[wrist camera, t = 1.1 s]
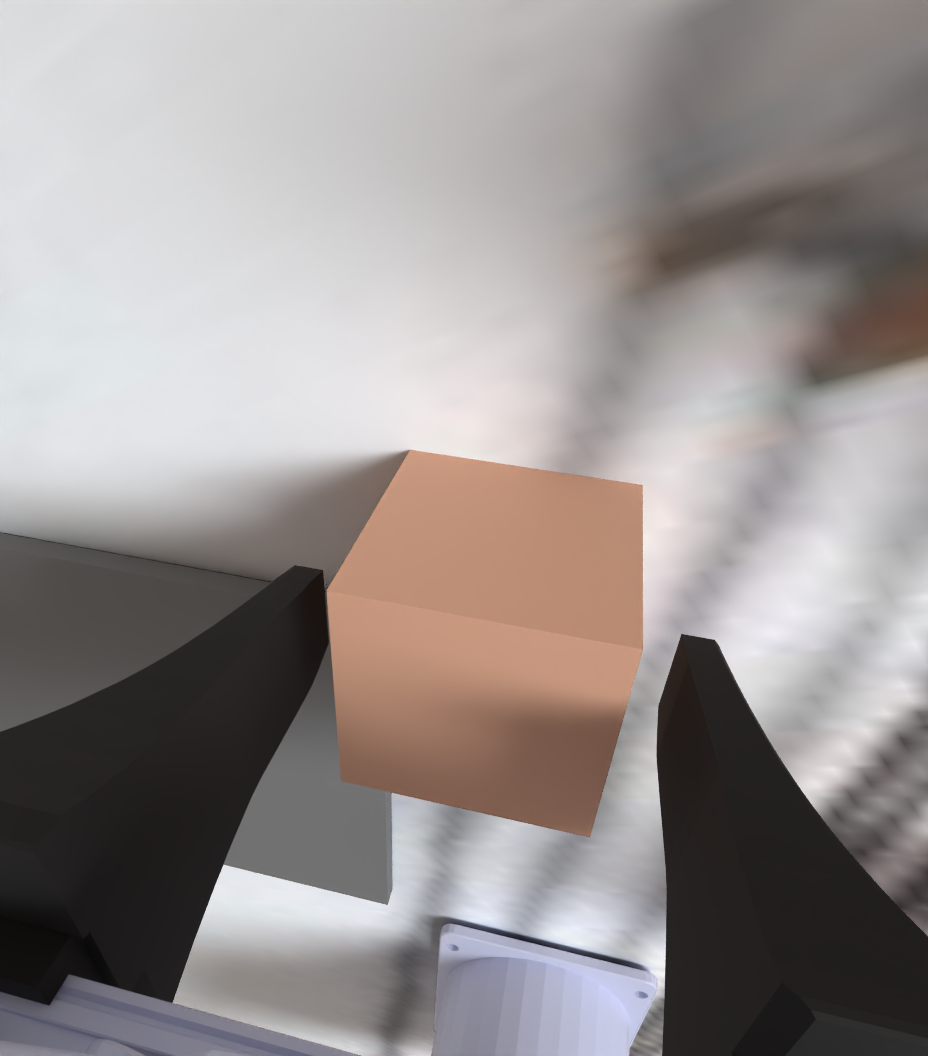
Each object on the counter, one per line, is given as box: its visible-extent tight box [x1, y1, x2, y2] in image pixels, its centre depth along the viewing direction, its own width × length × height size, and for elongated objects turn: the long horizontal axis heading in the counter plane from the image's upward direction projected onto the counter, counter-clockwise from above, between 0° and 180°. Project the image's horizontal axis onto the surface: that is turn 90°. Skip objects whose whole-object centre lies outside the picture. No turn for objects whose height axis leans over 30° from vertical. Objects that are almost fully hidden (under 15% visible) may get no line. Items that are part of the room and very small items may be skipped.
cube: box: [327, 450, 643, 837], centre depth 14 cm, size 5×5×5 cm
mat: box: [0, 533, 392, 905], centre depth 22 cm, size 14×14×1 cm
